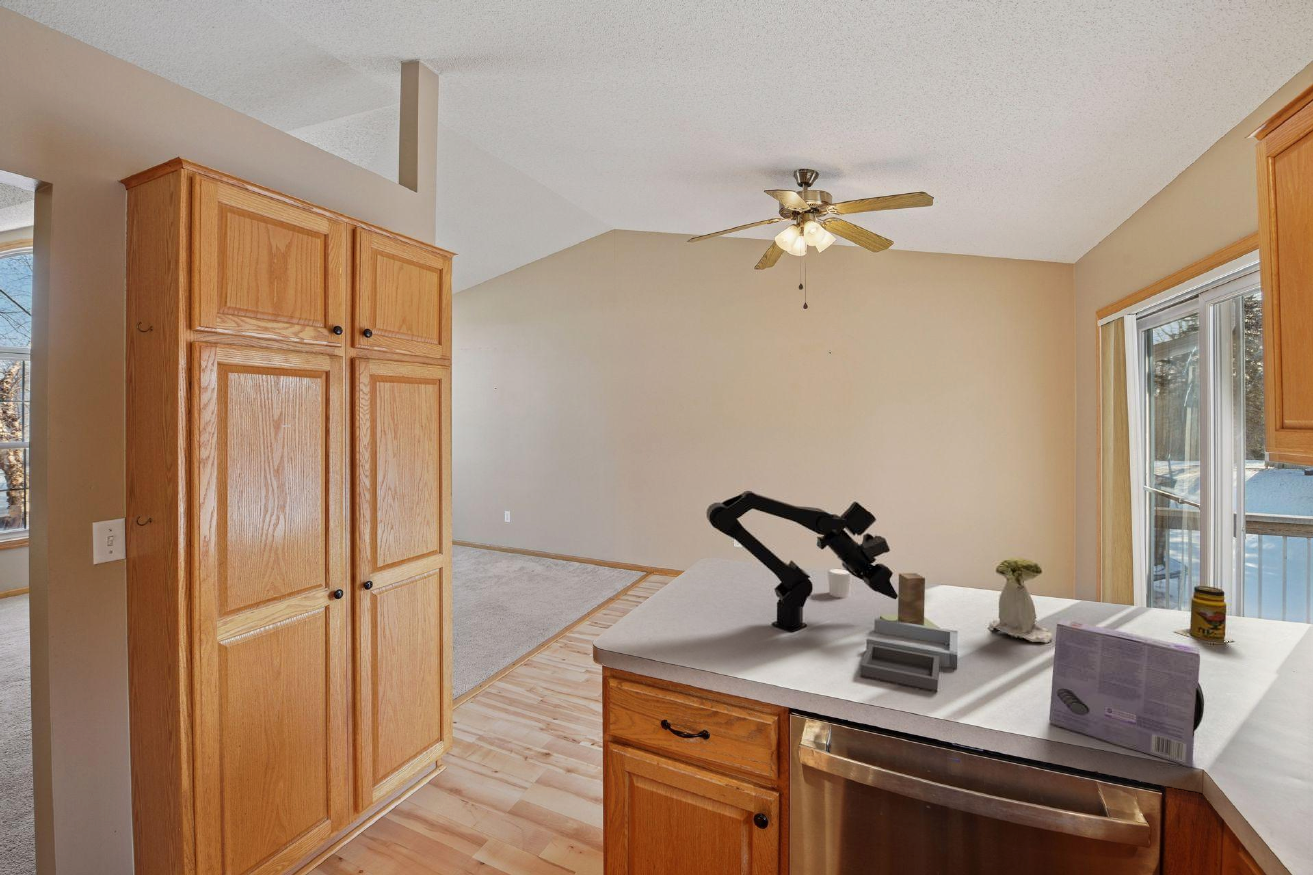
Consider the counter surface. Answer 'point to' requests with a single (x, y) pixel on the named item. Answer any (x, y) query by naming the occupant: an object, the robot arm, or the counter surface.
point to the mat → (895, 618)
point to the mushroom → (1018, 601)
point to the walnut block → (911, 598)
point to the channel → (918, 633)
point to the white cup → (839, 582)
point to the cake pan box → (1127, 690)
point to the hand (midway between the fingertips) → (888, 591)
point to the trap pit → (901, 667)
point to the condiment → (1207, 616)
